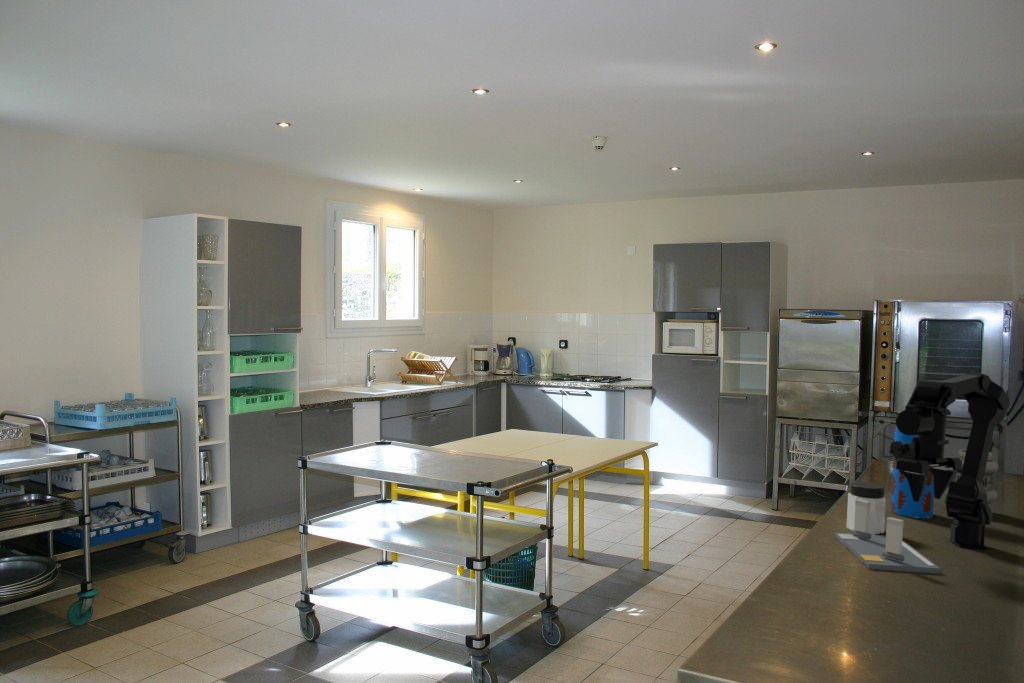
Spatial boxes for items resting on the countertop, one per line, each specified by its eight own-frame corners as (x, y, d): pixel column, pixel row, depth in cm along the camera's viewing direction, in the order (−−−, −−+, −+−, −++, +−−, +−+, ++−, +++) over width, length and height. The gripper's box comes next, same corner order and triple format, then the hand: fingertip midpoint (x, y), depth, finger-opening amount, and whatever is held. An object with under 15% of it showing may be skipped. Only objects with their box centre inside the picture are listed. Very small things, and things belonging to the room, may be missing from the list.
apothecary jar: (951, 514, 226) (954, 452, 226) (945, 505, 237) (948, 446, 237) (1000, 520, 222) (1003, 456, 221) (992, 510, 233) (995, 450, 232)
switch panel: (897, 541, 197) (897, 535, 197) (940, 573, 172) (940, 567, 172) (835, 537, 199) (835, 531, 199) (868, 569, 174) (869, 562, 174)
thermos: (929, 511, 229) (934, 426, 228) (936, 520, 219) (941, 431, 218) (888, 507, 233) (892, 423, 232) (893, 516, 222) (897, 428, 222)
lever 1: (854, 534, 196) (856, 498, 196) (871, 538, 193) (873, 502, 192) (851, 535, 196) (853, 499, 195) (867, 539, 192) (869, 503, 192)
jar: (869, 536, 200) (872, 490, 200) (840, 528, 207) (843, 483, 207) (889, 532, 205) (892, 486, 205) (860, 524, 212) (863, 480, 211)
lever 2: (885, 555, 179) (887, 516, 179) (904, 561, 176) (906, 521, 175) (881, 556, 179) (883, 517, 178) (900, 562, 175) (902, 521, 175)
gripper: (919, 428, 196) (914, 490, 197) (876, 430, 186) (871, 495, 186) (965, 434, 187) (960, 500, 187) (922, 437, 177) (917, 506, 177)
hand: (926, 500), depth 185 cm, fingers open, 9 cm apart
